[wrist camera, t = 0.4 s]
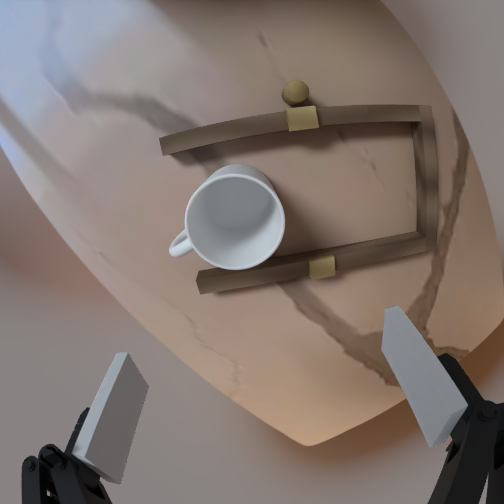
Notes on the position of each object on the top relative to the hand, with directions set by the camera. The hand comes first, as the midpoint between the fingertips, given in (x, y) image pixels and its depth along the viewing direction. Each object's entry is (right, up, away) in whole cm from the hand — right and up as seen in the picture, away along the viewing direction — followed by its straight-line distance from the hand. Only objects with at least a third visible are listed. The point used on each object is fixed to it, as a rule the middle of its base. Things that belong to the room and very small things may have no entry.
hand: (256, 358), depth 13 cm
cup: (-3, +10, +20) cm, 23 cm away
